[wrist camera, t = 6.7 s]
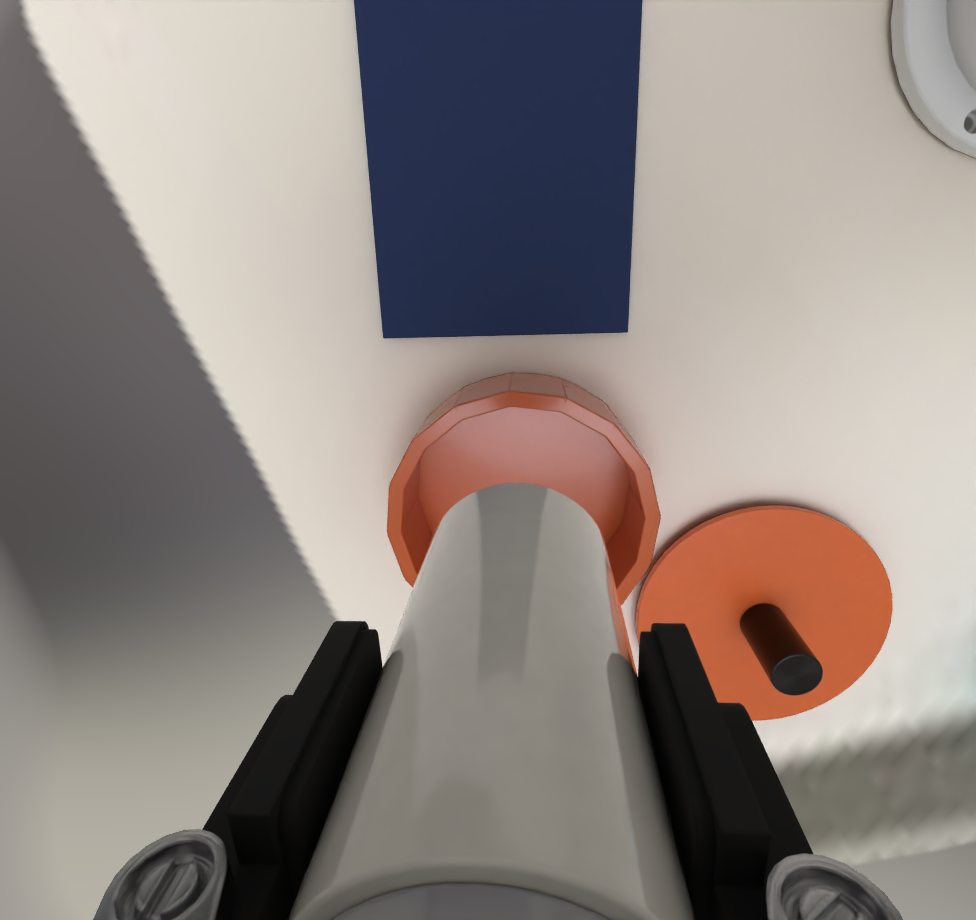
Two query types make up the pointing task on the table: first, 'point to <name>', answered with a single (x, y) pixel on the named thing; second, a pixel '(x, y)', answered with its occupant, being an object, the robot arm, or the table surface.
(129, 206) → the table surface
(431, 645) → the salt shaker
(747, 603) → the pot lid
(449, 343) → the table surface
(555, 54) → the towel
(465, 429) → the pot
